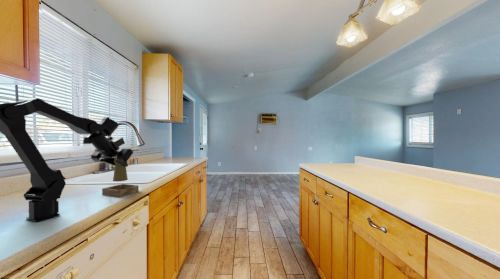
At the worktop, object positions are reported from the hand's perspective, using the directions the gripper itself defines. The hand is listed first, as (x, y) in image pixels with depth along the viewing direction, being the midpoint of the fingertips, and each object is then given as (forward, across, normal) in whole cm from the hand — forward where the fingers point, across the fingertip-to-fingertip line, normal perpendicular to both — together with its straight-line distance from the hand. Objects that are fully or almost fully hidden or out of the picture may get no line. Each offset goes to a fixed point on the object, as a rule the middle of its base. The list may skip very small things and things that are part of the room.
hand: (122, 165), depth 105 cm
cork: (+4, 0, +6) cm, 7 cm away
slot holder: (+8, 0, +10) cm, 13 cm away
